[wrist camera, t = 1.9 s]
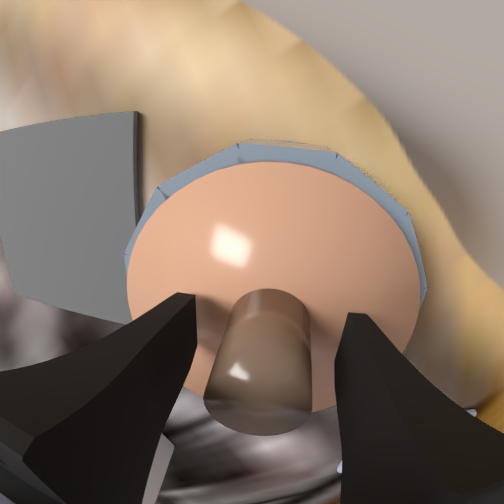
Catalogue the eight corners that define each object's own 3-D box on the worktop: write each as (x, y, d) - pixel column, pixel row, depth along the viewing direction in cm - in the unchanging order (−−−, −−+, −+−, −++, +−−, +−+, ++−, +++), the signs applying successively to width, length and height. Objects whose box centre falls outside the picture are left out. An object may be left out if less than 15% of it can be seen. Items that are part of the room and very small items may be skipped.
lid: (443, 185, 8) (526, 233, 4) (368, 407, 12) (379, 487, 8) (128, 154, 9) (34, 182, 5) (153, 381, 13) (117, 452, 9)
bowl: (417, 160, 11) (455, 176, 8) (364, 364, 16) (373, 412, 12) (159, 135, 12) (117, 142, 9) (169, 340, 17) (146, 384, 13)
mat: (137, 111, 12) (133, 111, 11) (149, 324, 16) (147, 328, 16) (-7, 133, 13) (-11, 134, 12) (18, 291, 17) (15, 294, 17)
